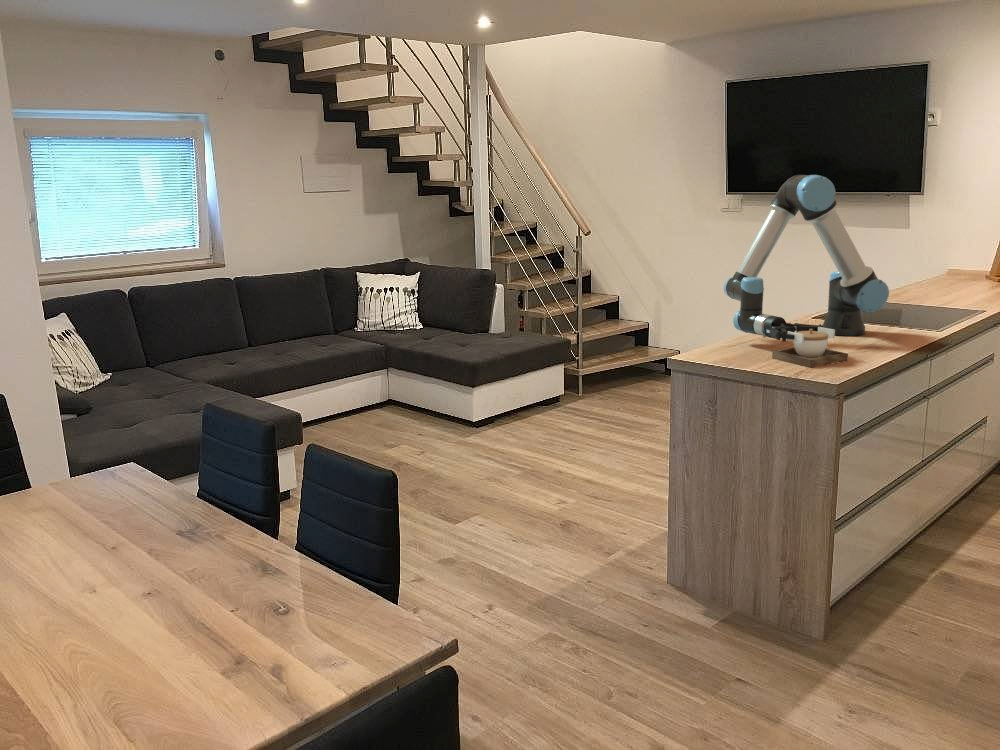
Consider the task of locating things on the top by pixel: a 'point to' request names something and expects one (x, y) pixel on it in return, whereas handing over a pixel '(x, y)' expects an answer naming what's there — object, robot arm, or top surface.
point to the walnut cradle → (794, 358)
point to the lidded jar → (811, 344)
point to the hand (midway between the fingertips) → (818, 336)
